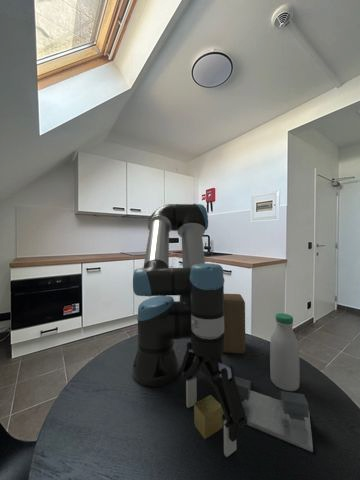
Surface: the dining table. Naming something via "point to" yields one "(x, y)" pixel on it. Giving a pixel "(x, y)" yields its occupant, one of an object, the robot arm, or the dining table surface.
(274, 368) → the milk bottle
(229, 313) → the wooden block
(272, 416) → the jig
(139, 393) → the dining table surface
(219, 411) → the gold cube-like block
